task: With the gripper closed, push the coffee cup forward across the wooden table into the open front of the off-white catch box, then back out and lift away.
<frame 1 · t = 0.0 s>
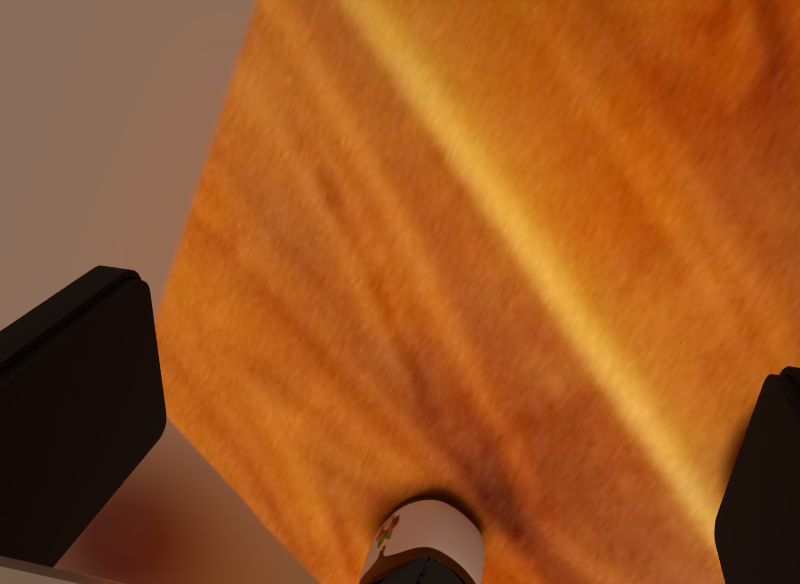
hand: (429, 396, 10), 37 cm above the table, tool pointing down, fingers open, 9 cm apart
spread jar: (438, 541, 63), on the table
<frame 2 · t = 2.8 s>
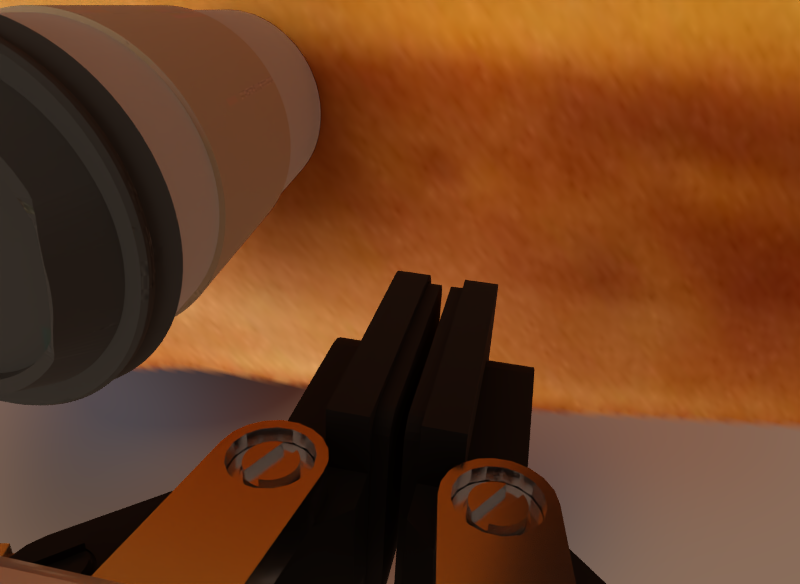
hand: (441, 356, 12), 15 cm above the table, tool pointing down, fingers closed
coffee cup: (239, 104, 26), on the table
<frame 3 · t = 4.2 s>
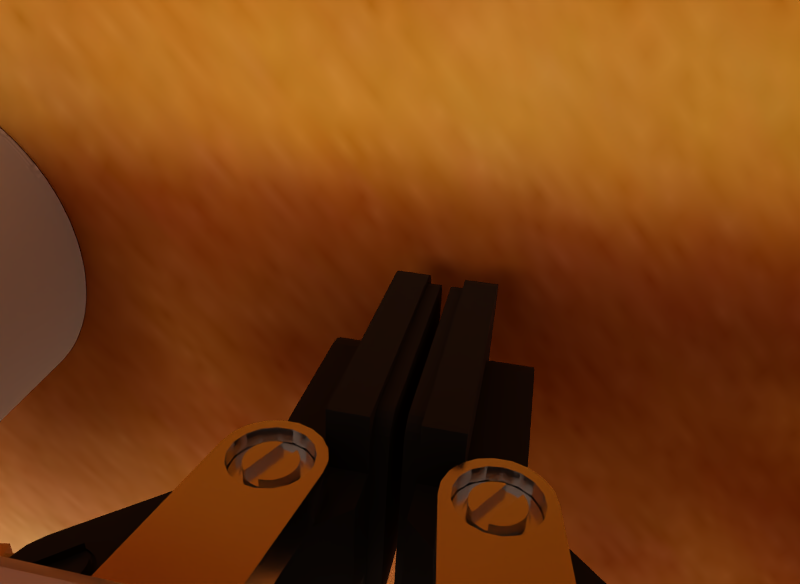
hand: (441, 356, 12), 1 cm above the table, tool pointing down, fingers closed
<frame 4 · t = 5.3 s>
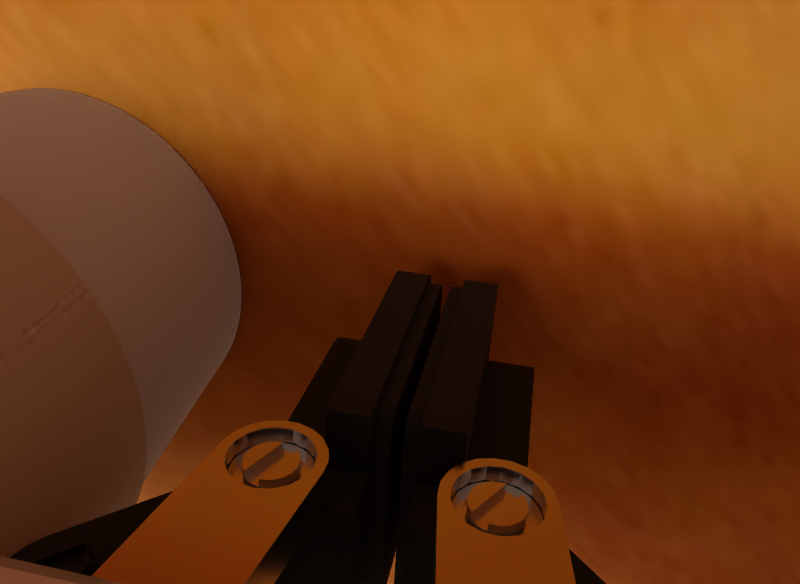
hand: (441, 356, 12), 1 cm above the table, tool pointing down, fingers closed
coffee cup: (91, 259, 14), on the table, touching gripper
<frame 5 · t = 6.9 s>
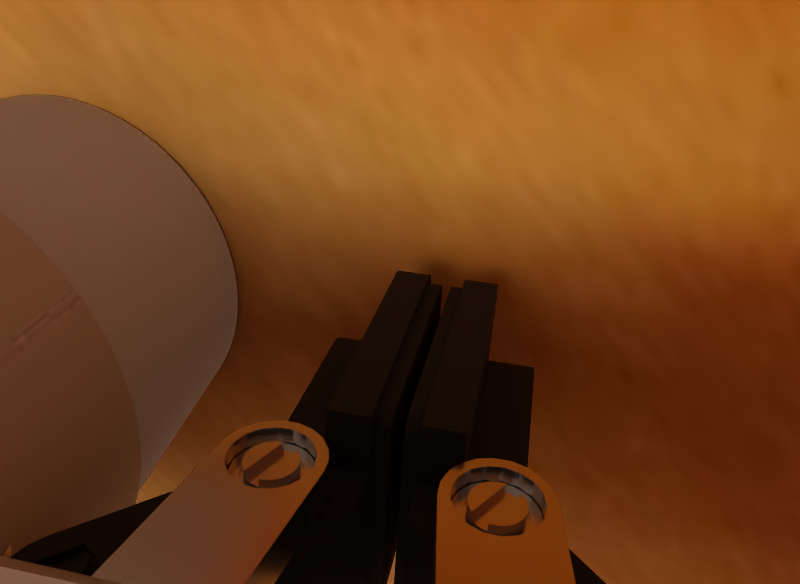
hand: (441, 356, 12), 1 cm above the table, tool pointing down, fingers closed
coffee cup: (86, 265, 14), on the table, touching gripper
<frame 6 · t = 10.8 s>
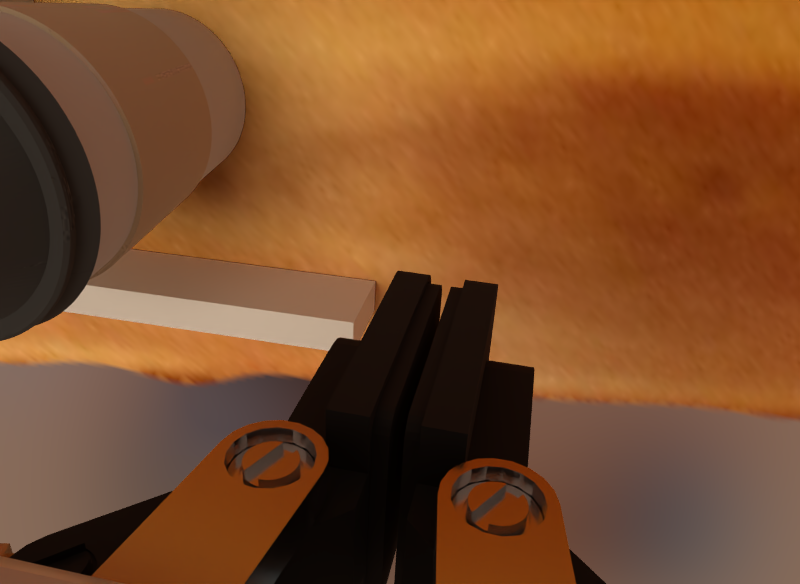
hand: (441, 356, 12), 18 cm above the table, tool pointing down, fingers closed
catch box: (208, 99, 29), on the table
coffee cup: (173, 94, 29), on the table
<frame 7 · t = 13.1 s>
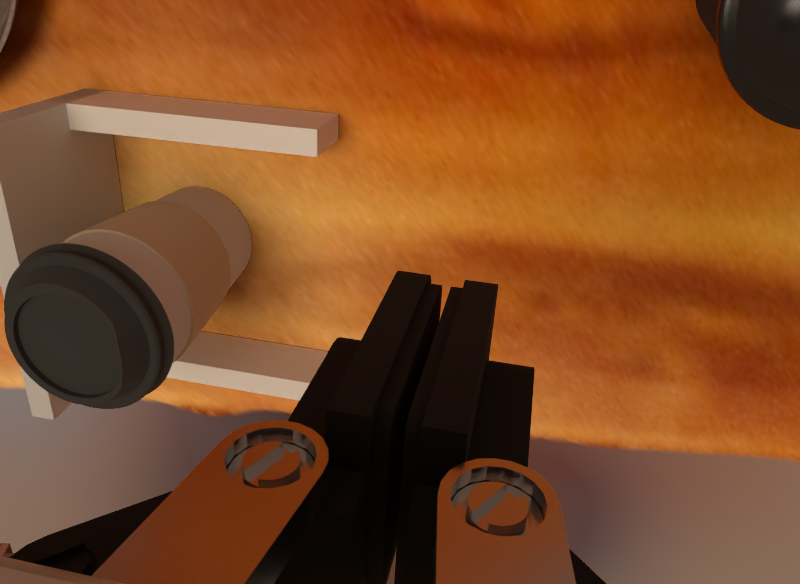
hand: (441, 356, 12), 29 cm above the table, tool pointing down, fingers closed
catch box: (228, 239, 45), on the table
coffee cup: (206, 235, 46), on the table
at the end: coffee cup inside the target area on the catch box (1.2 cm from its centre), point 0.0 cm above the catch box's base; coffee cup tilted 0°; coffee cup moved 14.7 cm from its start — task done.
